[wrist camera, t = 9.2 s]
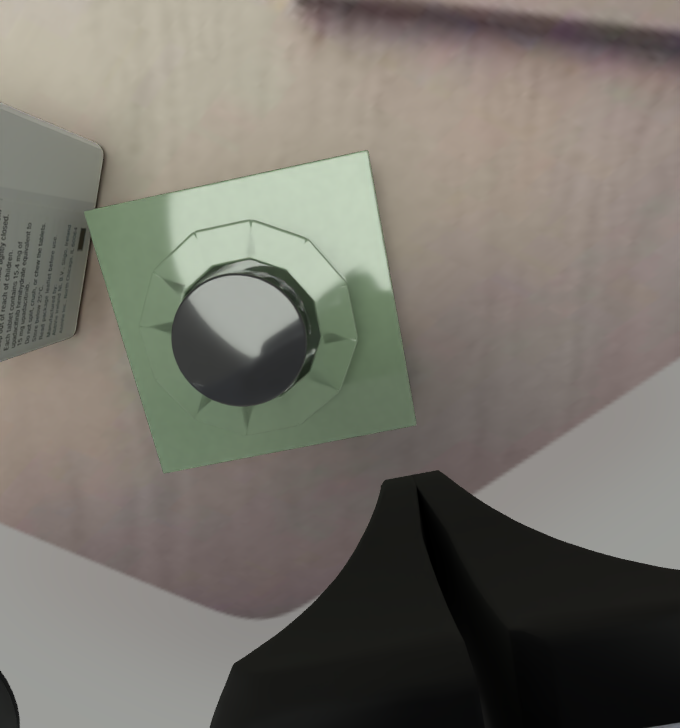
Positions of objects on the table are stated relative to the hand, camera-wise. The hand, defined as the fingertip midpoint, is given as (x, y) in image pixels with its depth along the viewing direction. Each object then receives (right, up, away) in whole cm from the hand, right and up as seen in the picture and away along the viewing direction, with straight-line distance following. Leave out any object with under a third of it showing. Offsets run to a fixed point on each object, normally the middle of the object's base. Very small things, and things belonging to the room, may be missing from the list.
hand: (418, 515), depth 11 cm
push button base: (-5, +5, +9) cm, 12 cm away
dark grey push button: (-5, +5, +5) cm, 8 cm away
